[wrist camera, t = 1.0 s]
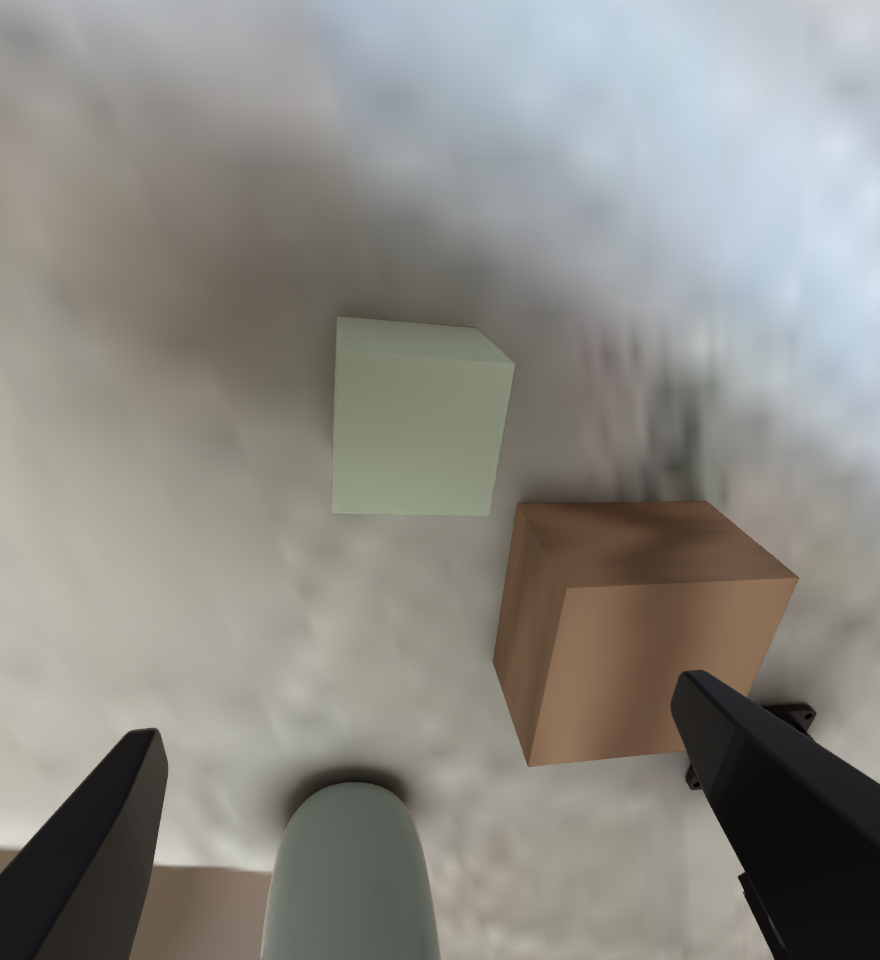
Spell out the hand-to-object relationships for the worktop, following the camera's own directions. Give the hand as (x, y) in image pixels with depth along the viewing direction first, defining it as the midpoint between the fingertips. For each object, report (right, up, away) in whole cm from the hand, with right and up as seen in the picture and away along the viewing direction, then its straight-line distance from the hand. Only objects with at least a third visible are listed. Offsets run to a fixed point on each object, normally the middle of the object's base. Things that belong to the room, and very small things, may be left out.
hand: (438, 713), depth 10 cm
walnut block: (+7, -1, +17) cm, 19 cm away
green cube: (-1, +7, +11) cm, 14 cm away
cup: (-5, -14, +22) cm, 26 cm away
